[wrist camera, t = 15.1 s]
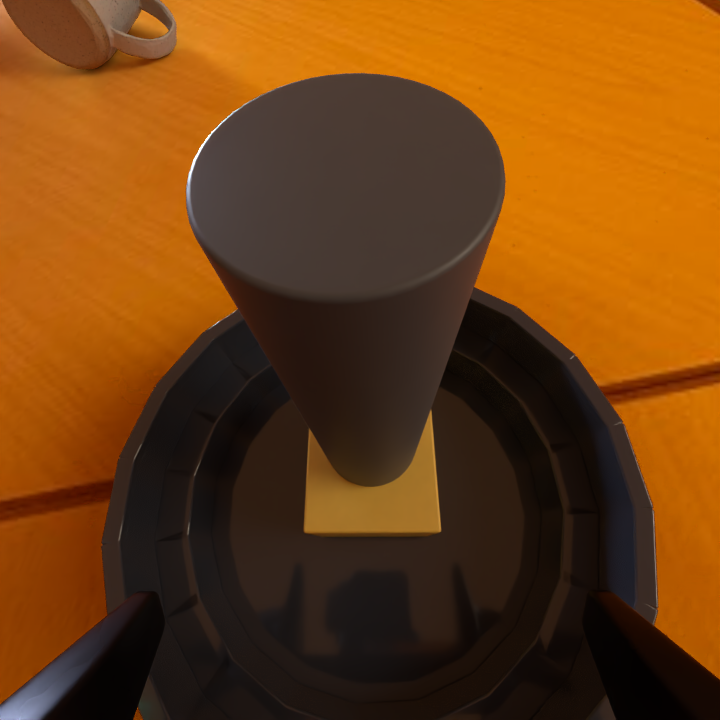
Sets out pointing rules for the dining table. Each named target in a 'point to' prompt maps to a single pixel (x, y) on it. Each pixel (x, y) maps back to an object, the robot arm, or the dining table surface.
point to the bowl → (381, 542)
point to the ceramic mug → (90, 29)
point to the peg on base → (353, 273)
